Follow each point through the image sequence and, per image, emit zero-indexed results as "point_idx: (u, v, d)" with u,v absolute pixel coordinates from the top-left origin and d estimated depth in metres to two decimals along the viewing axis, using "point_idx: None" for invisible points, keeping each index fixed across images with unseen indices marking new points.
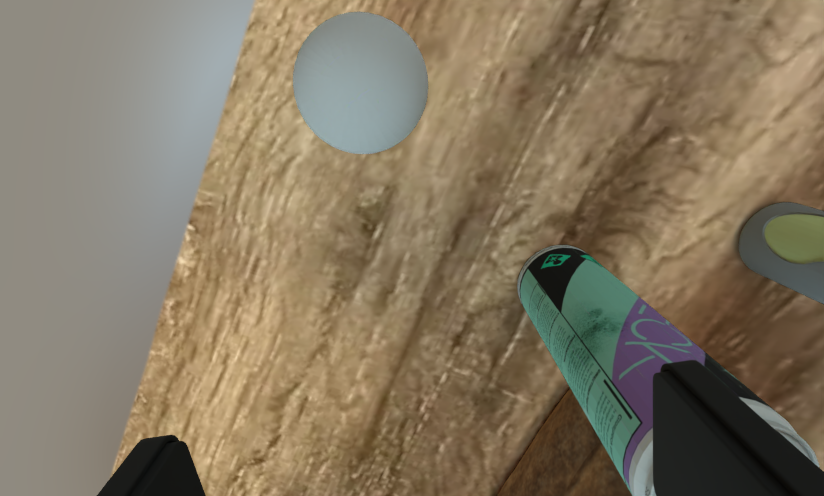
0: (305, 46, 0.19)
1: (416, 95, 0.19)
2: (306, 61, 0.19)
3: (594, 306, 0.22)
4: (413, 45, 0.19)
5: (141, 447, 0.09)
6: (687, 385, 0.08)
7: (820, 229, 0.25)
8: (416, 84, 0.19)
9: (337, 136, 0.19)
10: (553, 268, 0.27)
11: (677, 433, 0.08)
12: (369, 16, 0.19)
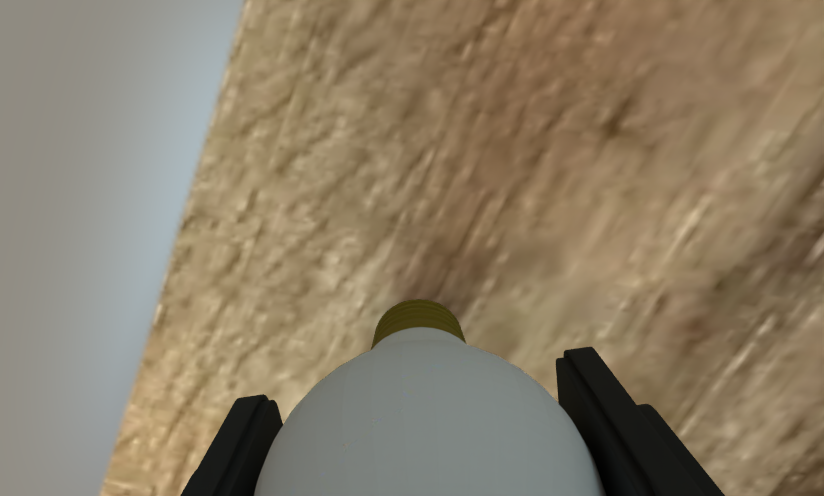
0: None
1: None
2: None
3: None
4: (593, 486, 0.07)
5: (240, 404, 0.09)
6: (577, 368, 0.09)
7: None
8: None
9: None
10: None
11: (571, 412, 0.09)
12: (474, 438, 0.06)
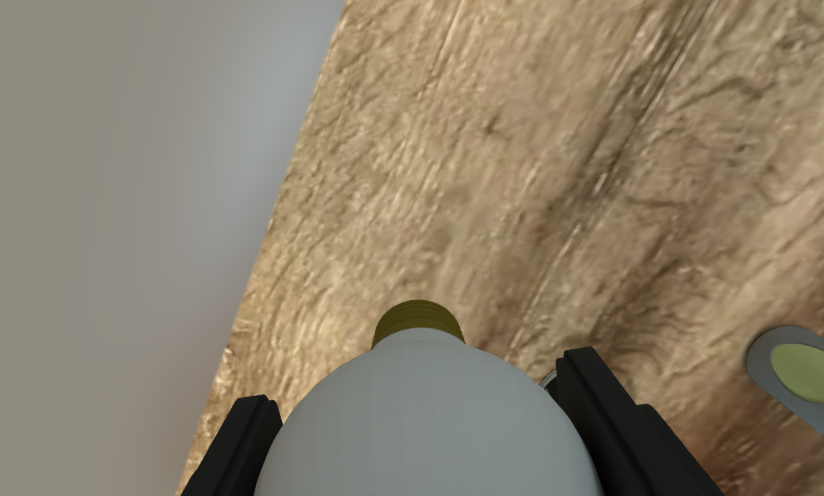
0: None
1: None
2: None
3: None
4: (591, 486, 0.07)
5: (240, 404, 0.09)
6: (577, 368, 0.09)
7: None
8: None
9: None
10: None
11: (571, 412, 0.09)
12: (473, 438, 0.06)
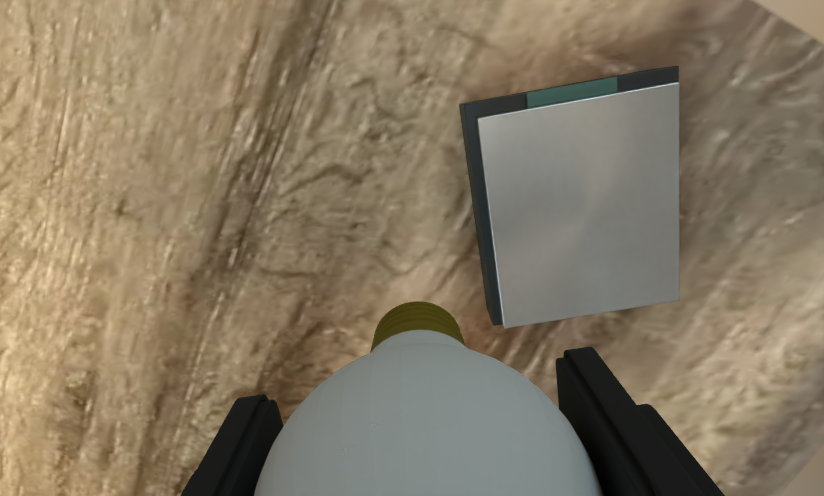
0: None
1: None
2: None
3: None
4: (591, 490, 0.07)
5: (240, 404, 0.09)
6: (577, 368, 0.09)
7: None
8: None
9: None
10: None
11: (571, 412, 0.09)
12: (473, 442, 0.06)
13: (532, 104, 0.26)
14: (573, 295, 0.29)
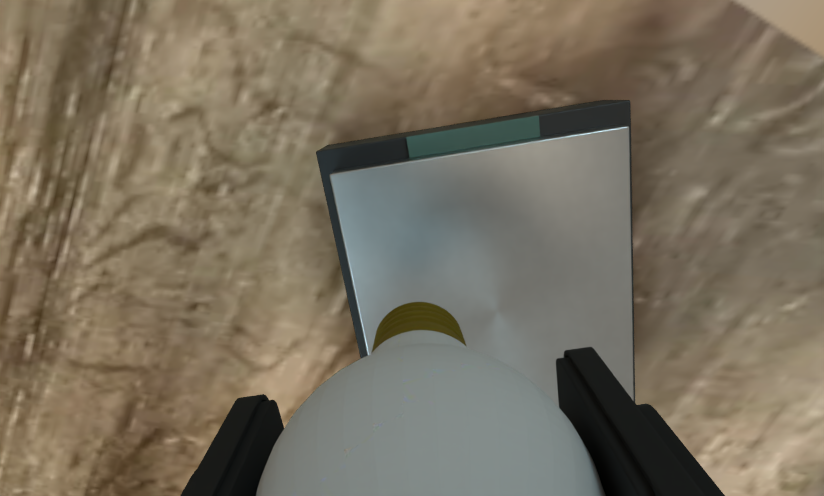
0: None
1: None
2: None
3: None
4: (593, 491, 0.07)
5: (240, 404, 0.09)
6: (577, 368, 0.09)
7: None
8: None
9: None
10: None
11: (571, 412, 0.09)
12: (475, 443, 0.06)
13: (415, 153, 0.18)
14: None
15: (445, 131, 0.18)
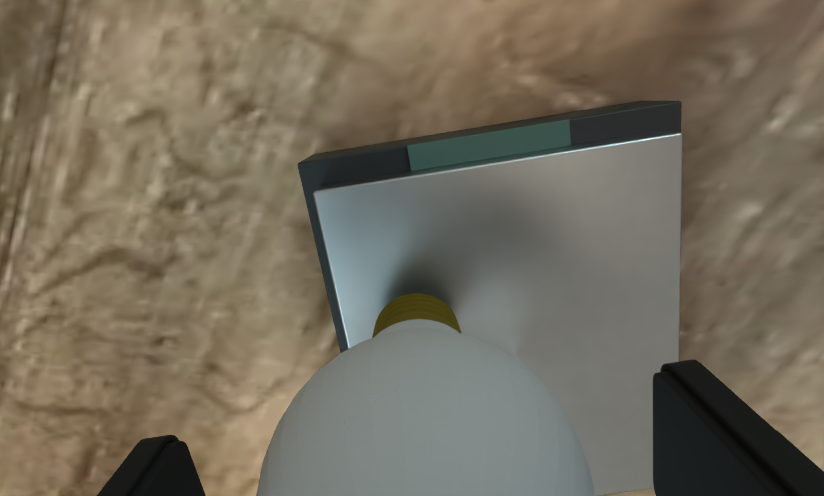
0: None
1: None
2: None
3: None
4: (576, 462, 0.07)
5: (141, 447, 0.09)
6: (687, 385, 0.08)
7: None
8: None
9: None
10: None
11: (677, 433, 0.08)
12: (465, 415, 0.07)
13: (418, 165, 0.15)
14: None
15: (455, 139, 0.14)
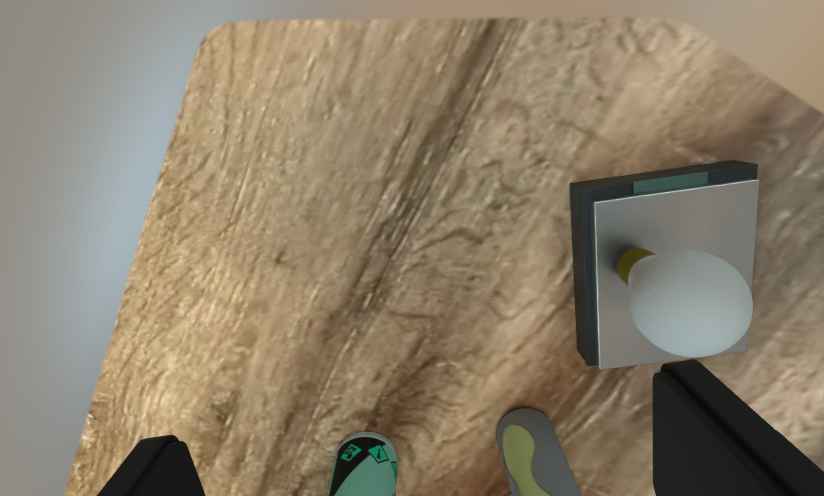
0: (669, 287, 0.24)
1: (749, 323, 0.25)
2: (673, 301, 0.24)
3: None
4: (746, 283, 0.25)
5: (141, 447, 0.09)
6: (687, 385, 0.08)
7: (522, 449, 0.36)
8: (751, 316, 0.24)
9: (684, 352, 0.25)
10: (344, 463, 0.38)
11: (677, 433, 0.08)
12: (720, 266, 0.24)
13: (637, 191, 0.32)
14: None
15: (655, 179, 0.32)
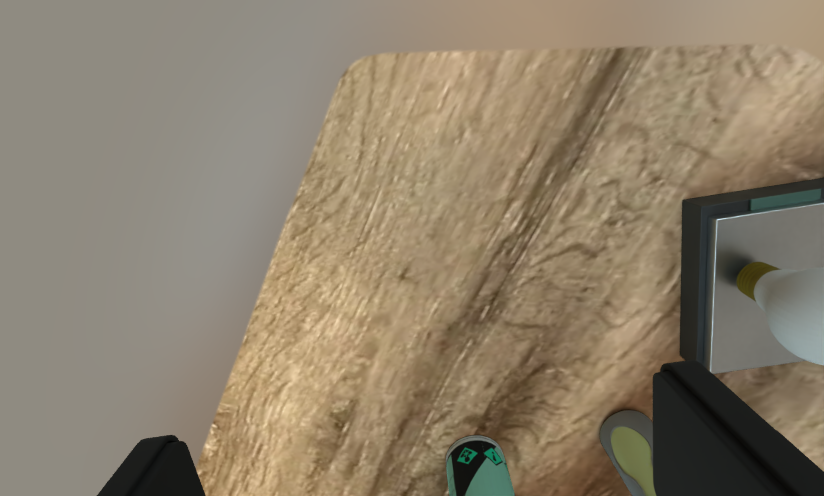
0: (821, 304, 0.26)
1: None
2: None
3: None
4: None
5: (141, 447, 0.08)
6: (687, 385, 0.08)
7: (637, 450, 0.38)
8: None
9: None
10: (463, 465, 0.40)
11: (677, 433, 0.08)
12: None
13: (754, 207, 0.34)
14: (768, 350, 0.37)
15: (772, 196, 0.34)
